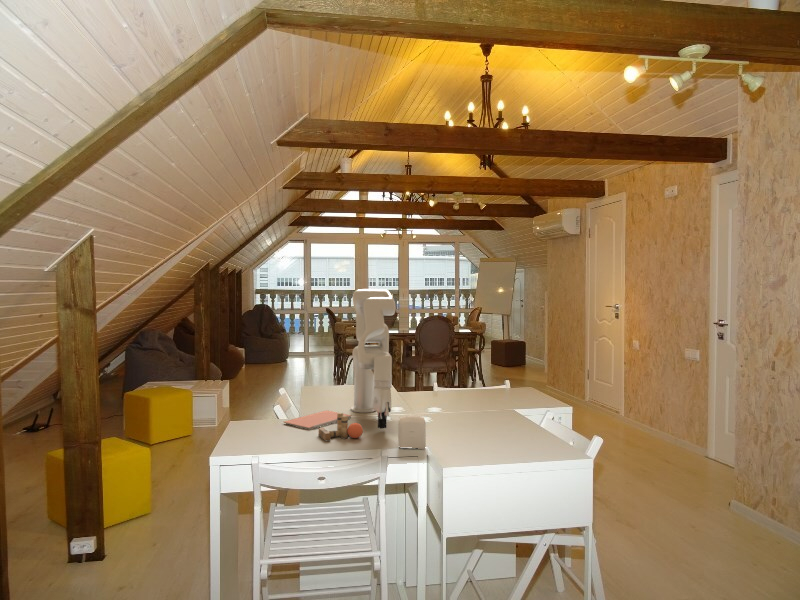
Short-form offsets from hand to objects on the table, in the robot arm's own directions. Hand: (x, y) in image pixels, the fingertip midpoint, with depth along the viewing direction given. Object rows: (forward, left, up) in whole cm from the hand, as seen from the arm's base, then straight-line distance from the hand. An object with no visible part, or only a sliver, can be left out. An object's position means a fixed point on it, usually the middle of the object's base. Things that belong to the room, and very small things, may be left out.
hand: (382, 427), depth 223 cm
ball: (+5, -14, +2) cm, 15 cm away
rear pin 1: (-2, -17, -2) cm, 18 cm away
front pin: (0, -14, 0) cm, 15 cm away
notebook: (-27, -19, -2) cm, 33 cm away
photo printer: (+26, +1, -2) cm, 26 cm away
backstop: (0, -25, -2) cm, 25 cm away
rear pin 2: (+3, -17, -2) cm, 18 cm away
